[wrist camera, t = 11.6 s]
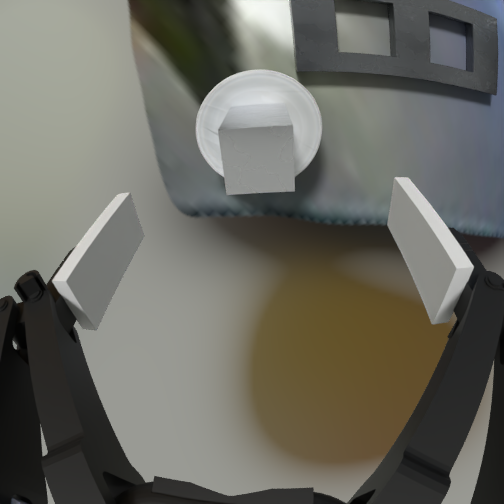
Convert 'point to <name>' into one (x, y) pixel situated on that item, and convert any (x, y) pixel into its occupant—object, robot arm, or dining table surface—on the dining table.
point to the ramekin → (253, 93)
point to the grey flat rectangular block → (399, 43)
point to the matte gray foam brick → (257, 149)
